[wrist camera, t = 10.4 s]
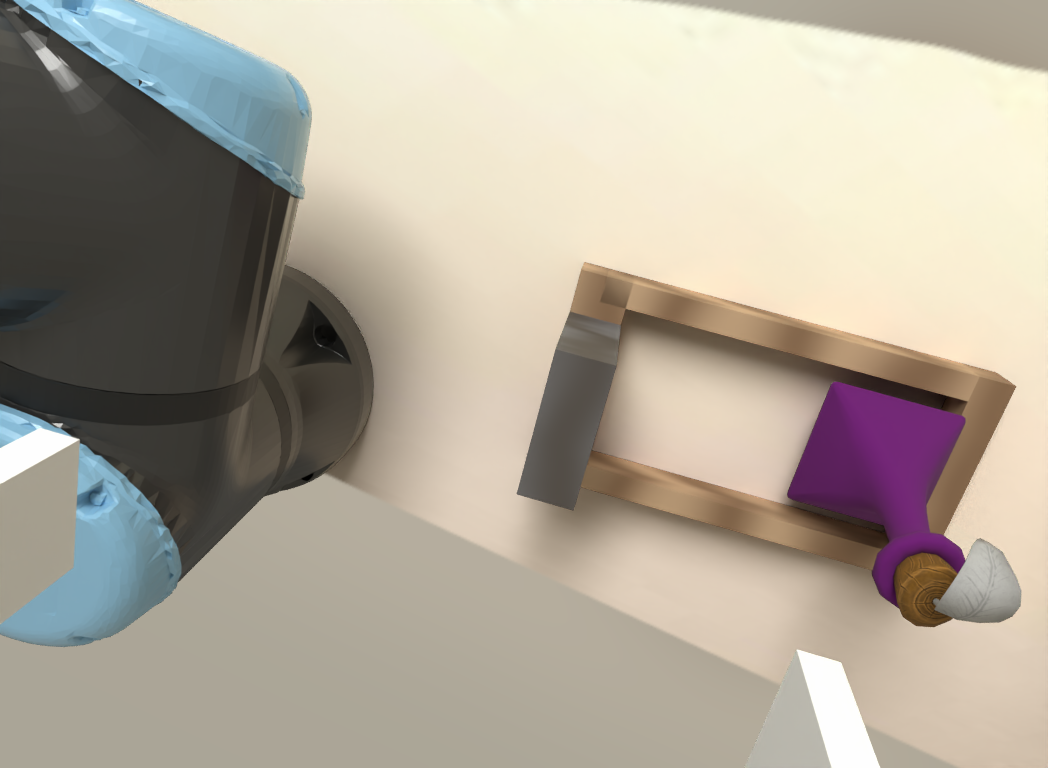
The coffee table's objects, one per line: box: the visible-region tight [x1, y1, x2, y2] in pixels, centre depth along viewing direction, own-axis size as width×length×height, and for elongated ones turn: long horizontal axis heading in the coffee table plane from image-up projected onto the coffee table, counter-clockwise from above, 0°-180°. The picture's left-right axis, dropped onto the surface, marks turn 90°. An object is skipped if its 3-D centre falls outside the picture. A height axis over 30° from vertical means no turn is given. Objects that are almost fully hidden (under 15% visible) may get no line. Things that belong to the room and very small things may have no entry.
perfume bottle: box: [787, 382, 1021, 627], centre depth 39 cm, size 8×8×18 cm
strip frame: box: [517, 262, 1016, 570], centre depth 43 cm, size 24×13×10 cm, turn 76°
